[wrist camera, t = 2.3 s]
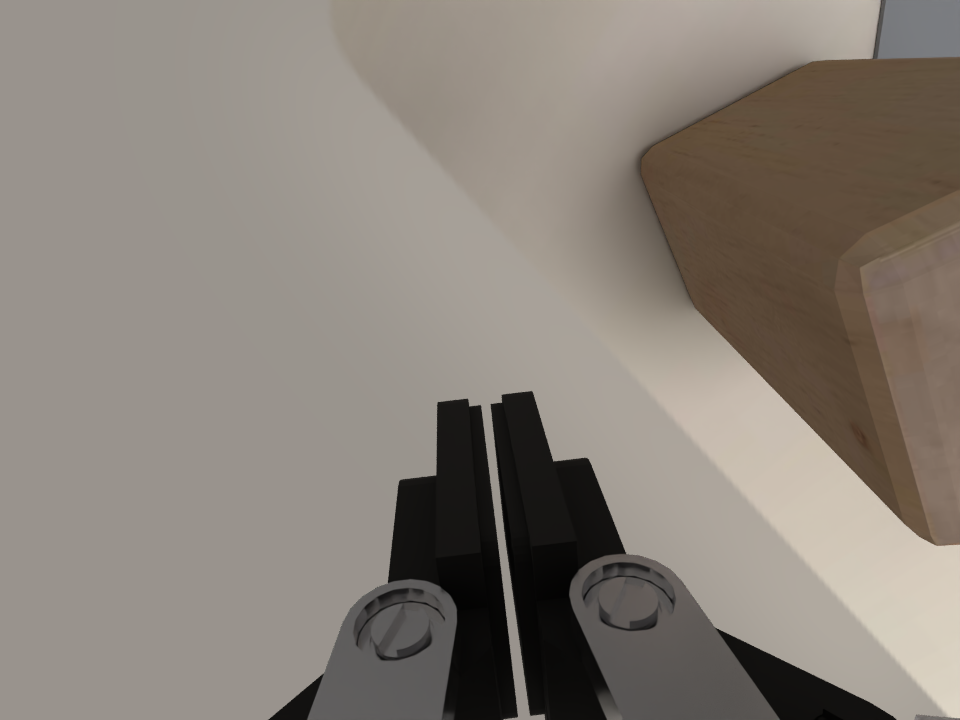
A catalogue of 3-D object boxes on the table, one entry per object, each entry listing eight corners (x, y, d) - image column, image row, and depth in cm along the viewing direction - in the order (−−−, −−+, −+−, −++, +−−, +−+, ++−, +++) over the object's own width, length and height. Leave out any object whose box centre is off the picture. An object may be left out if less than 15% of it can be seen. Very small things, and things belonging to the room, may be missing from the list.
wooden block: (694, 316, 36) (934, 572, 18) (628, 153, 32) (846, 266, 14) (870, 233, 34) (1338, 423, 16) (821, 51, 30) (1366, 24, 12)
